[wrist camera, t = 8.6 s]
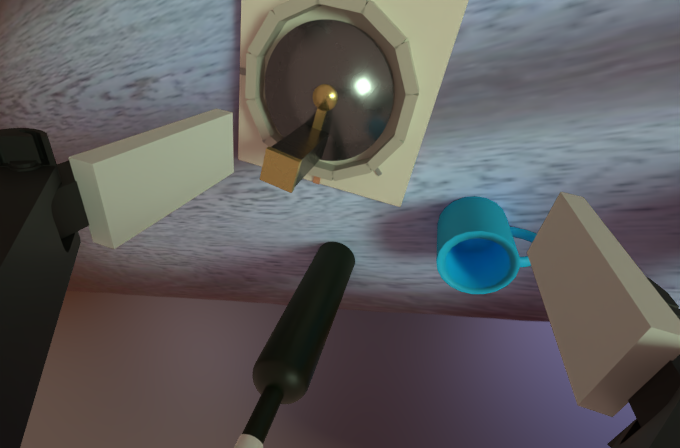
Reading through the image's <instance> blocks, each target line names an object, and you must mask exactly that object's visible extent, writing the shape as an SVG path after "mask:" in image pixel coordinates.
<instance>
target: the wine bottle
mask: <svg viewBox="0 0 680 448" xmlns="http://www.w3.org/2000/svg"><path fill="white" fill-rule="evenodd" d="M354 264H355V258H354V255H353V253H352V251H351V250H350V249H349V248H348V247H346V246H345V245H343V244H341V243H337V242H328V243H325V244H323V245H322V246H321V247H320V248H319V250H318V252H317V254H316V255H315V257H314V259H313V261H312V263H311V264H310V266H309V268H308V270H307V271H306V273H305V275H304V277H303V279H302V280H301V282H300V284H299V286H298V288H297V289H296V291H295V293H294V295H293V297H292V298H291V300H290V302H289V304H288V306H287V307H286V309H285V311H284V313H283V315H282V316H281V318H280V320H279V322H278V323H277V325H276V327H275V329H274V331H273V332H272V334H271V336H270V338H269V340H268V342H267V343H266V345H265V347H264V349H263V351H262V352H261V354H260V356H259V358H258V360H257V361H256V363H255V365H254V368H253V382H254V385H255V386H256V389H257V390H258V391H259V393H260V394H261V397H260V399H259V401H258V403H257V405H256V407H255V409H254V411H253V413H252V415H251V417H250V419H249V421H248V423H247V425H246V427H245V429H244V431H243V433H242V435H240V437H239V438H238V440H237V442H236V445H235V447H234V448H263V443H264V441H265V438H266V436H267V434H268V431H269V429H270V427H271V424H272V422H273V420H274V417H275V415H276V413H277V410H278V408H279V406H280V404H290V403H294V402H296V401H298V400H299V399H301V398H302V397H303V396H304V395H305V393H306V391H307V390H308V387H309V385H310V382H311V379H312V376H313V374H314V371H315V369H316V366H317V363H318V360H319V358H320V355H321V353H322V350H323V347H324V345H325V342H326V339H327V337H328V334H329V331H330V328H331V326H332V323H333V321H334V318H335V315H336V312H337V310H338V307H339V305H340V302H341V299H342V296H343V294H344V291H345V288H346V286H347V283H348V280H349V278H350V275H351V272H352V270H353V267H354Z"/></svg>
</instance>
